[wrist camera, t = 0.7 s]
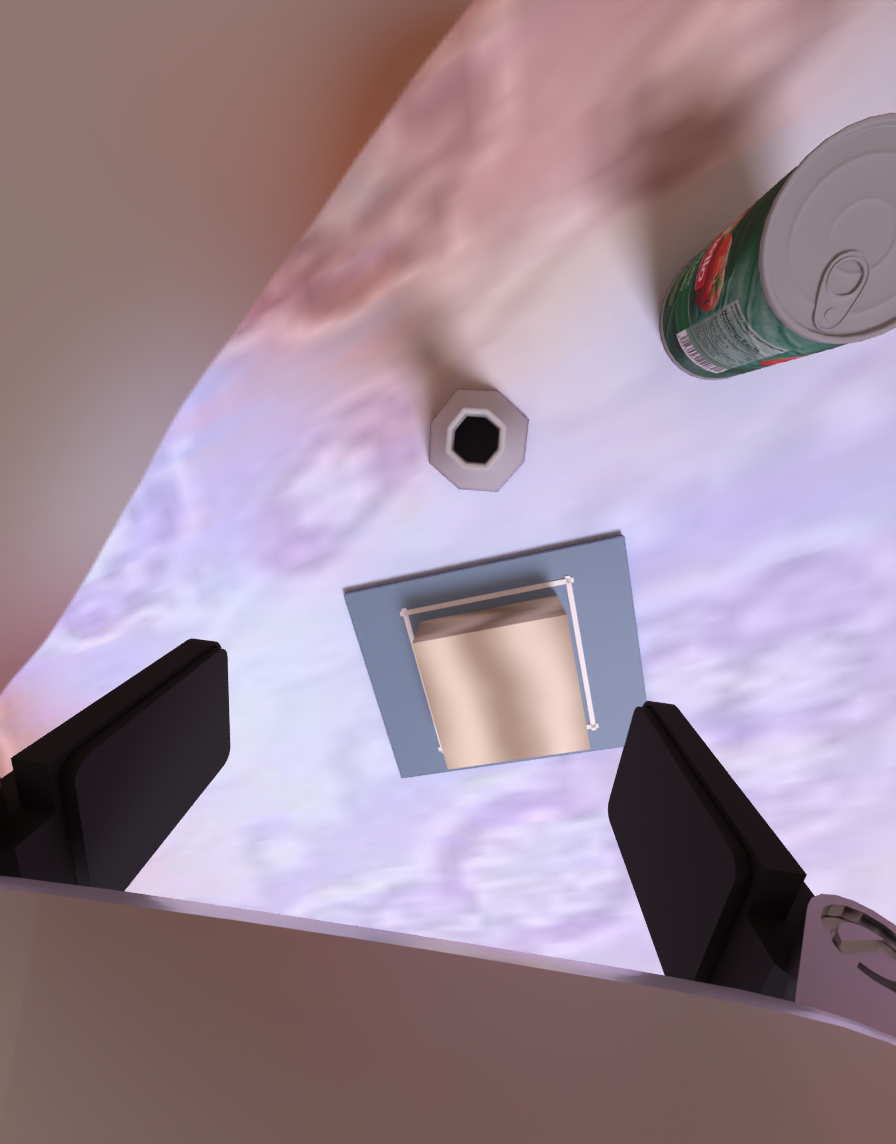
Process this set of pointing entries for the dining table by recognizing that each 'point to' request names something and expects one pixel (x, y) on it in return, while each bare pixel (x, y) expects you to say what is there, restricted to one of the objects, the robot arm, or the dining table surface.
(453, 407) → the flask
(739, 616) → the dining table surface
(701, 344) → the canned tomato
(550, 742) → the birch plinth
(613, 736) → the board
